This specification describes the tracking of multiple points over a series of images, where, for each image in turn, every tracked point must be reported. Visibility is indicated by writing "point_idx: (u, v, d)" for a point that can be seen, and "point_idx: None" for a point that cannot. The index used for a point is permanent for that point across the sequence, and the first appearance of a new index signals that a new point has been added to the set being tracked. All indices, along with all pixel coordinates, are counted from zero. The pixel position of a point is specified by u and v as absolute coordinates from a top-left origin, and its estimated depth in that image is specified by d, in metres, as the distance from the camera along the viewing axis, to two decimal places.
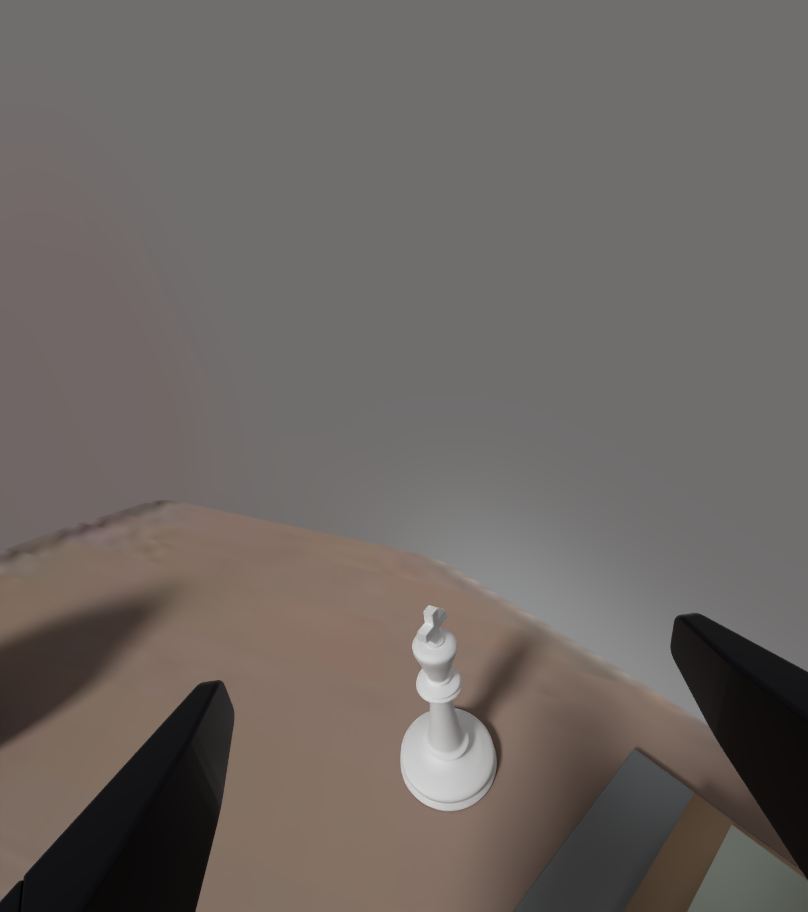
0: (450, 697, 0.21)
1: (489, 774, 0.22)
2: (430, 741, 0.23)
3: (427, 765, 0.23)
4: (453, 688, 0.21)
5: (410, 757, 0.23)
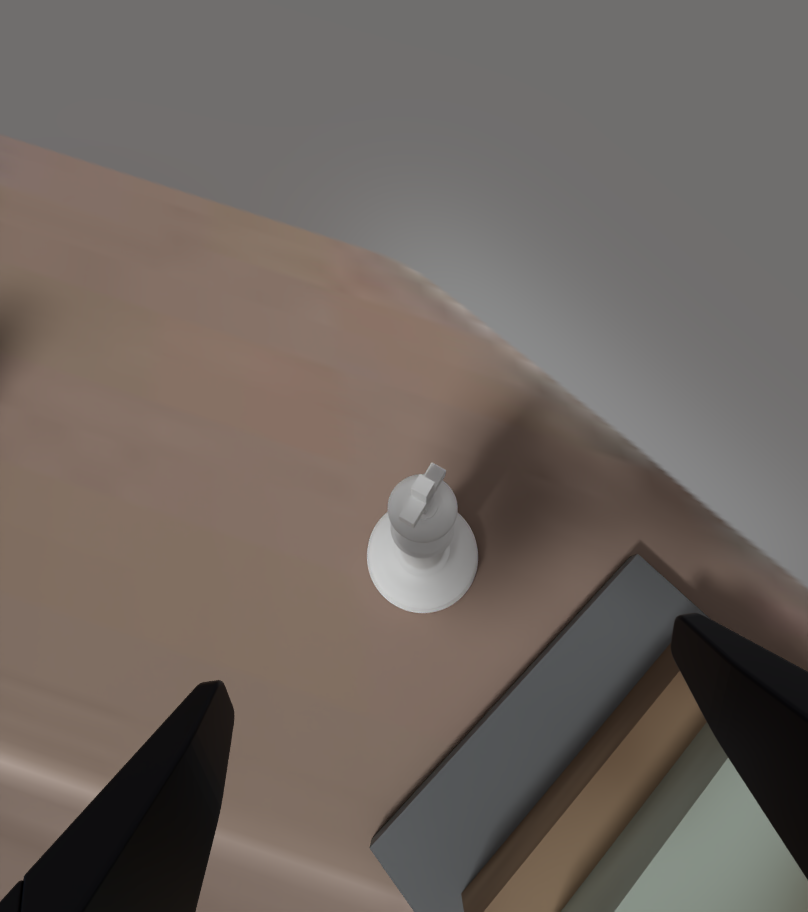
0: (438, 551, 0.15)
1: (470, 580, 0.19)
2: (404, 557, 0.19)
3: (400, 575, 0.19)
4: (443, 540, 0.15)
5: (379, 563, 0.20)
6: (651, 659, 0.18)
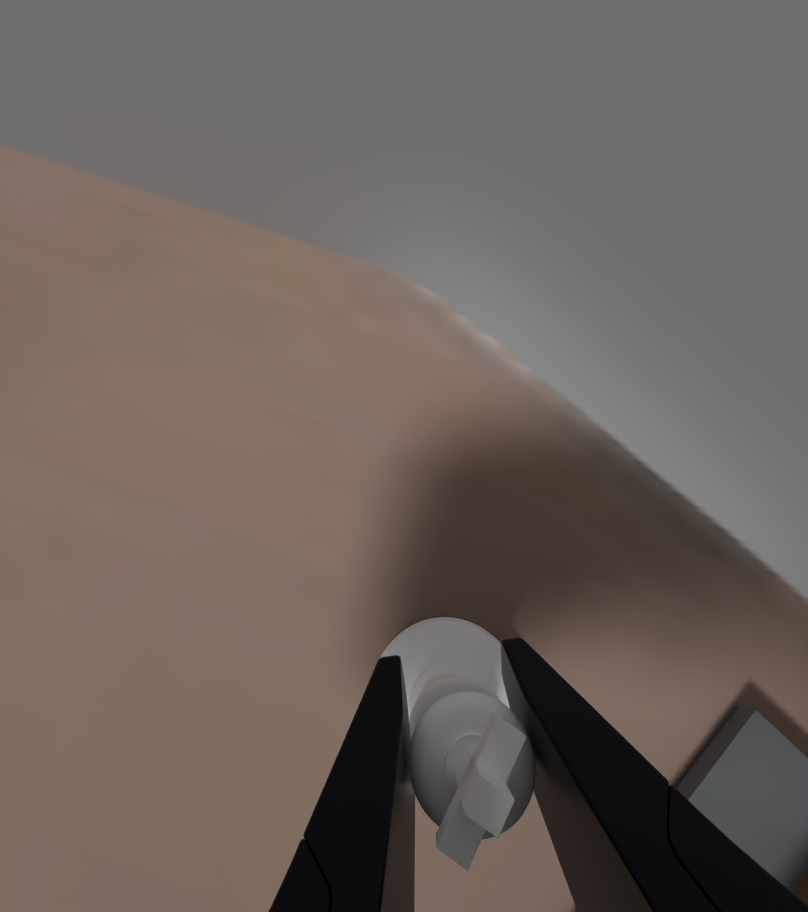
0: None
1: None
2: None
3: None
4: None
5: None
6: (790, 884, 0.12)
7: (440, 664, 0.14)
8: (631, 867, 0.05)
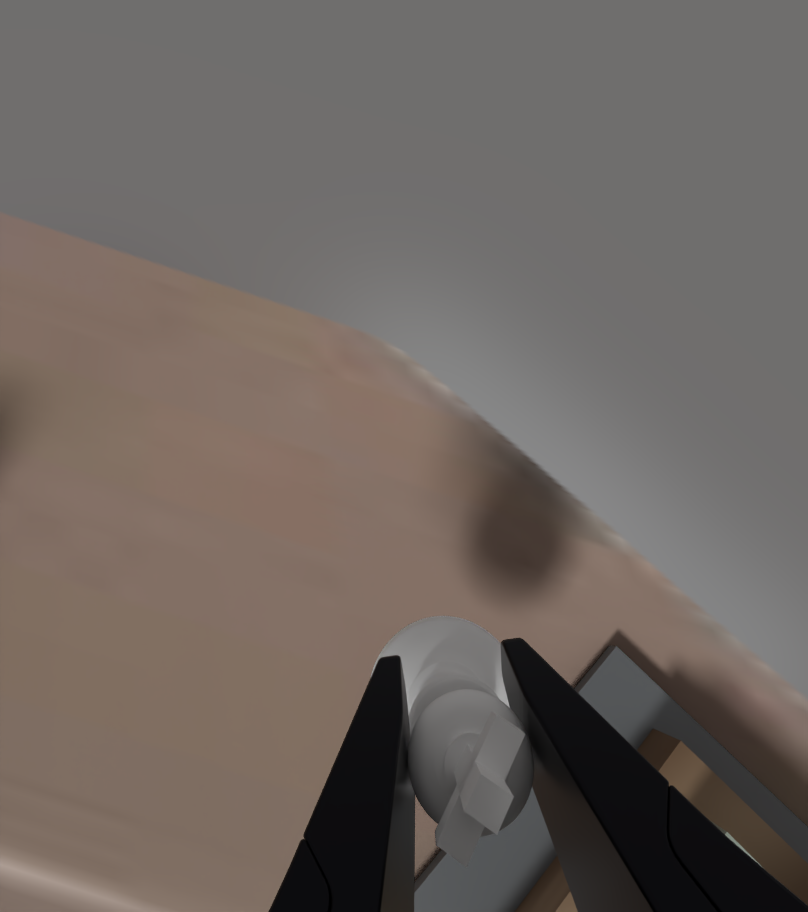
0: None
1: None
2: None
3: None
4: None
5: None
6: None
7: (439, 663, 0.14)
8: (631, 868, 0.05)
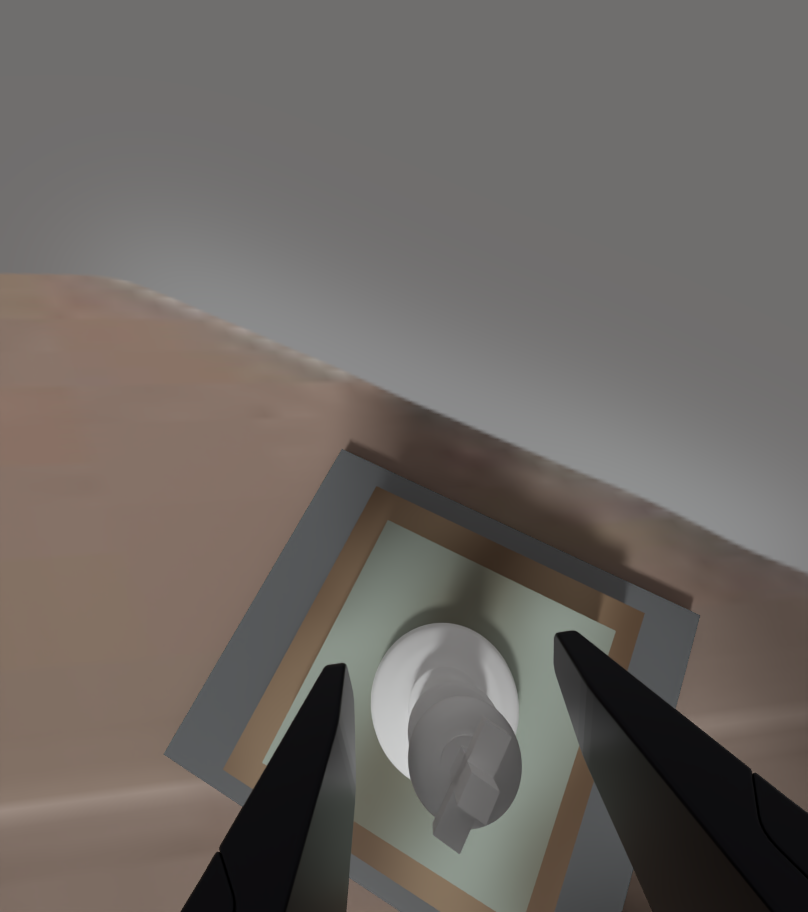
0: None
1: None
2: None
3: None
4: None
5: (388, 723, 0.15)
6: None
7: (437, 668, 0.14)
8: (727, 853, 0.05)
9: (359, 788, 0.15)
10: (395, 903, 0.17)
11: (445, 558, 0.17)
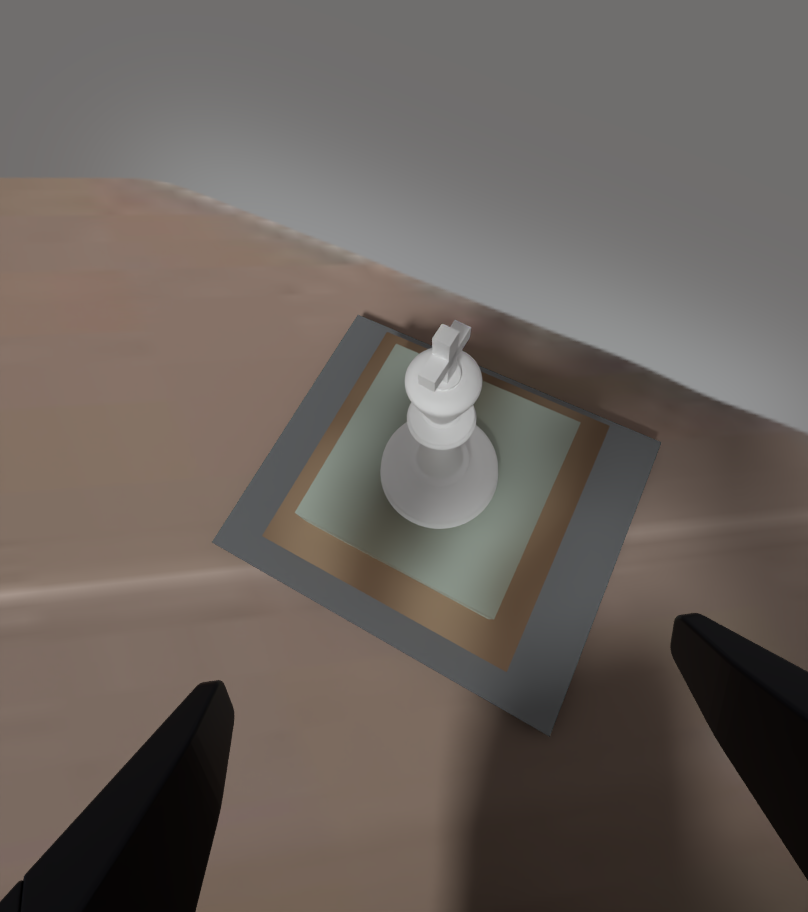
0: (459, 442, 0.14)
1: (490, 495, 0.18)
2: (420, 466, 0.17)
3: (415, 487, 0.18)
4: (464, 429, 0.14)
5: (394, 476, 0.18)
6: None
7: None
8: None
9: (370, 530, 0.19)
10: (398, 646, 0.21)
11: None
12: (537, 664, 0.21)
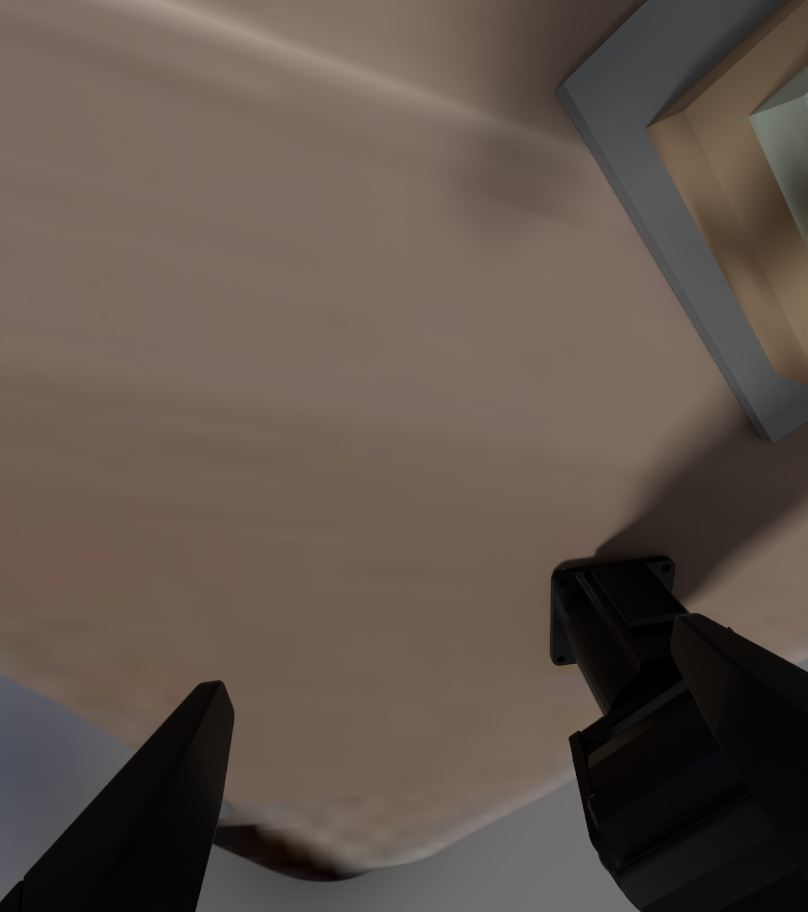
0: None
1: None
2: None
3: None
4: None
5: None
6: None
7: None
8: None
9: None
10: (706, 321, 0.19)
11: None
12: None
